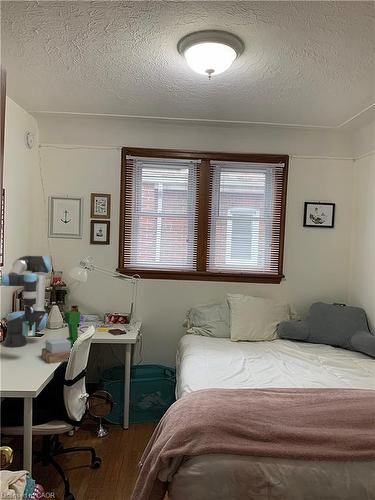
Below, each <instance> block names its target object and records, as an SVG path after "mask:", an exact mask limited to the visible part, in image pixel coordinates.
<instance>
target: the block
mask: <svg viewBox="0 0 375 500" xmlns="http://www.w3.org/2000/svg"><path fill="white" fill-rule="evenodd" d="M28 324H29V323H28V321H26V322H23V332H22V334H23V335H24V336H26V337H29V336H28V326H27V325H28ZM33 336H36V330H35V322H34V325H33V335H32V336H31V337H33Z"/></svg>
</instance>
